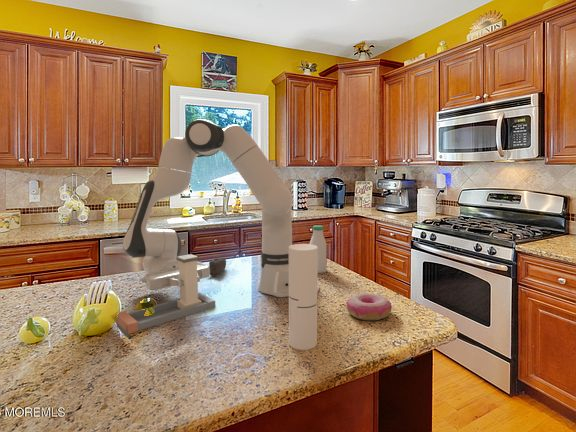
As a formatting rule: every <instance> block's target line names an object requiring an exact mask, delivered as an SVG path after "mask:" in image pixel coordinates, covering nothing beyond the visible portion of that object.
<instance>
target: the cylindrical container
mask: <svg viewBox="0 0 576 432" xmlns="http://www.w3.org/2000/svg"><path fill="white" fill-rule="evenodd" d="M317 263H318V247H317V246H316V245H311V244H310V243H295V244H292V245H290V246H289V296H288V344H289V346H290V347H291V348H293V349H295V350H300V351H308V350H311V349H313V348H316V346H317V345H318V343H317V342H318V292H317V284H318V273H317Z"/></svg>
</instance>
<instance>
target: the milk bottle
mask: <svg viewBox="0 0 576 432" xmlns="http://www.w3.org/2000/svg"><path fill="white" fill-rule="evenodd" d="M309 244H311V245H316V246H317V247H318V263H317V274H322V273H325V272H326V271H327V268H328V267H327V261H328V260H327V259H328V258H327V257H328V254H327V250H328V248H327V240H326V238H325V236H324V226H323V225H320V224H319V225H313V226H312V235H311V239H310V241H309Z"/></svg>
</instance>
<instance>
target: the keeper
mask: <svg viewBox="0 0 576 432" xmlns="http://www.w3.org/2000/svg"><path fill="white" fill-rule="evenodd" d="M176 258H177V260H178V262H179V279H182V280H183V281H184V283H183V284H184V286H180V287H179V299H180V300H177V307H178V308H180V309H183V308H186V307H190V306H193V305H196V304H200V303H202V301H201V300H199V299H198V293H199V288H198V287H199V286H198V285H199V284H198V283H199V282H198V279H197V262H198V261H199V259H200V258H199V256H197V255H194V254H192V253H190V254H189V253H188V254H185V255H179V256H178V257H176Z"/></svg>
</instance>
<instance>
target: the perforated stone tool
mask: <svg viewBox="0 0 576 432" xmlns="http://www.w3.org/2000/svg"><path fill="white" fill-rule="evenodd" d="M208 263H209V265H208V266H209V269H210V275H209V276H211V277H219V276H220V275H221V274H222V273H224V271H225V269H226V266H227V260H226V258H225V257H222V256H221V257H217V258H214V259H211V261H209V262H208Z"/></svg>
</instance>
